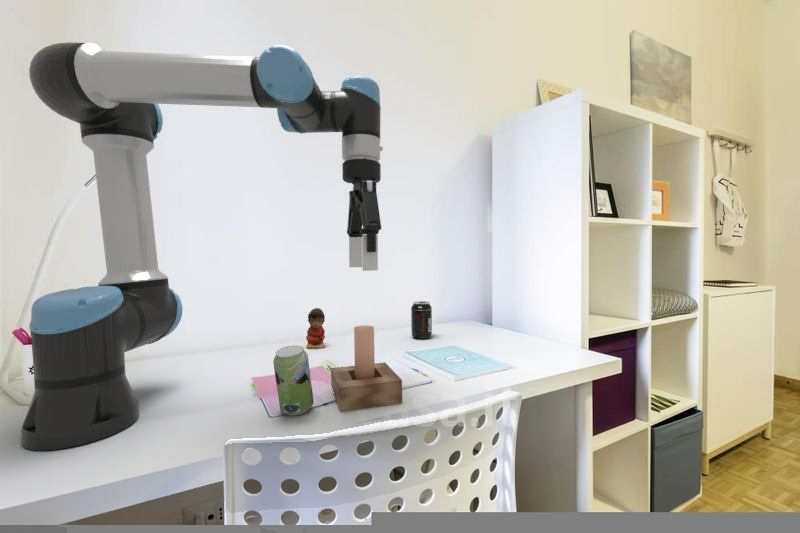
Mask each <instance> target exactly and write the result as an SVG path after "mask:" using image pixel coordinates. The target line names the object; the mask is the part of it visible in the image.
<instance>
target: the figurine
mask: <svg viewBox="0 0 800 533" xmlns="http://www.w3.org/2000/svg"><path fill="white" fill-rule="evenodd" d="M325 318H326V317H325V314H324V311H323V310H322V309H321V308H318V307H316V308H313V309H311V310H310V311H309V313H308V314H307V321H308V323H309V325H310V326H309V327H308V329H307V331H306V333H307V335H306V336H305V339H306V341H307V344H306V345H305V348H307V349H324V348H326V345H325V343H324V340H325V338H326V335H325V332H326V331H325V328H324V326H323V325H324V323H325V321H326V319H325Z"/></svg>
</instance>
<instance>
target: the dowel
mask: <svg viewBox="0 0 800 533" xmlns="http://www.w3.org/2000/svg"><path fill="white" fill-rule="evenodd" d="M353 333H354V334H353V337H354V340H353V344H354V366H355V380H360V379H369V378H375V326H373V325H365V324H364V325H356V326H354V327H353Z"/></svg>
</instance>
